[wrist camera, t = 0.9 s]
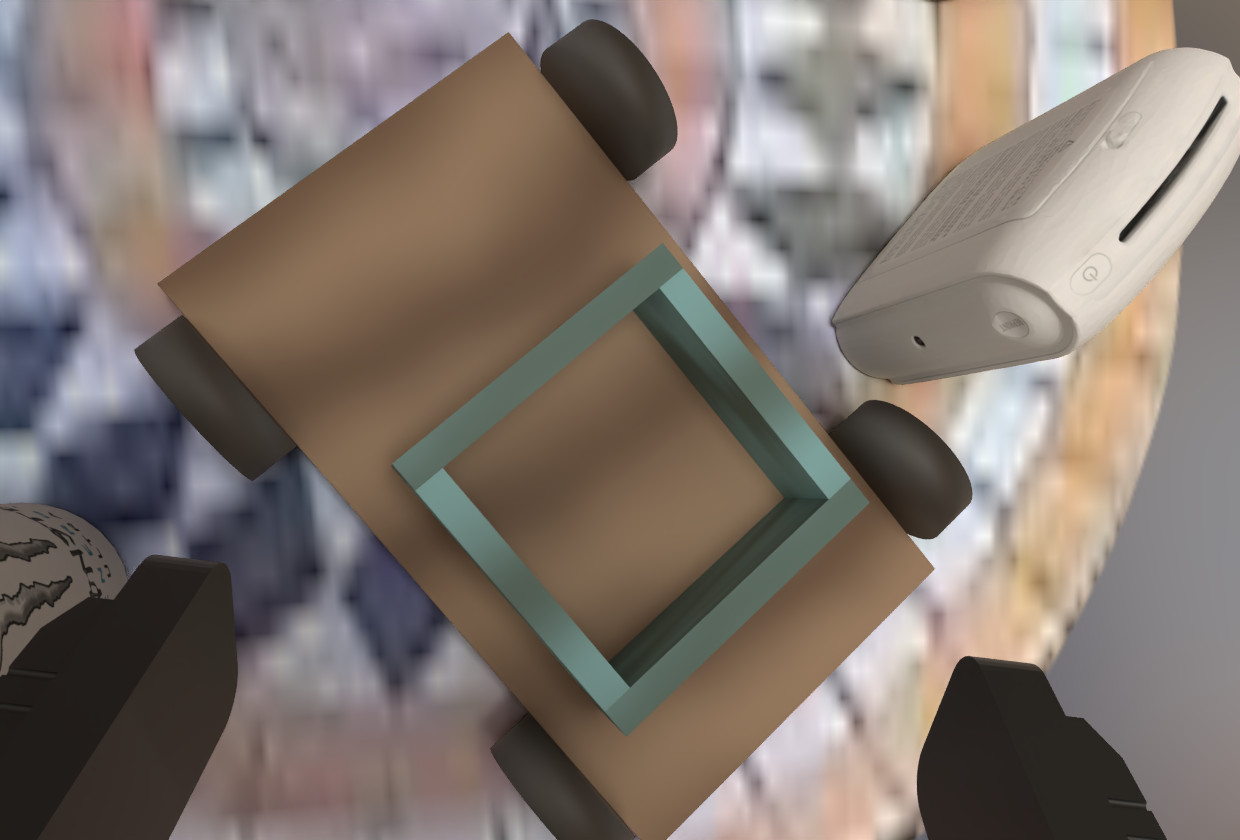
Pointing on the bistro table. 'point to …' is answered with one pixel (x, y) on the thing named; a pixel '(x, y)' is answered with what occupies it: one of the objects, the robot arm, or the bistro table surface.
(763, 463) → the chassis
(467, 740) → the bistro table surface
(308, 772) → the bistro table surface
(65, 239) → the bistro table surface
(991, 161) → the photo printer
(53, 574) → the energy drink can
